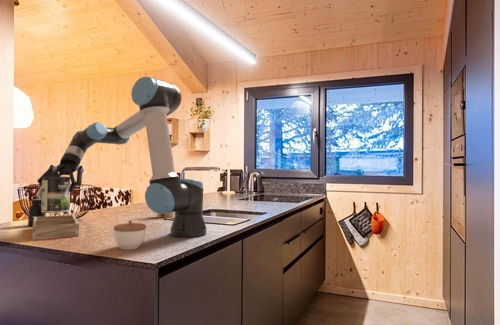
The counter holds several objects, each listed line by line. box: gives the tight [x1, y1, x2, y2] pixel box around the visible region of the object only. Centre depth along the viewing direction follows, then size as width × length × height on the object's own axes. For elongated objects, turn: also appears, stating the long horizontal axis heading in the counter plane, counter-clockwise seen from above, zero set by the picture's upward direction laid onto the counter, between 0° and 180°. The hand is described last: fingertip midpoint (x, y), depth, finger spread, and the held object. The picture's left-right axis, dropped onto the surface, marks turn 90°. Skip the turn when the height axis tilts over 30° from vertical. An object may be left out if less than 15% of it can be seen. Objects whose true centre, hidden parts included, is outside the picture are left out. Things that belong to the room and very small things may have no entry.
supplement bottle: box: [27, 198, 46, 227], centre depth 166 cm, size 7×7×12 cm
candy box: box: [156, 212, 175, 218], centre depth 198 cm, size 9×4×15 cm, turn 103°
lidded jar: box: [113, 220, 147, 250], centre depth 126 cm, size 11×11×9 cm
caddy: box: [31, 214, 80, 241], centre depth 151 cm, size 26×16×5 cm, turn 30°
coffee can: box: [41, 176, 71, 214], centre depth 146 cm, size 10×10×14 cm
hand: (51, 197), depth 143 cm, fingers closed on coffee can, 10 cm apart
